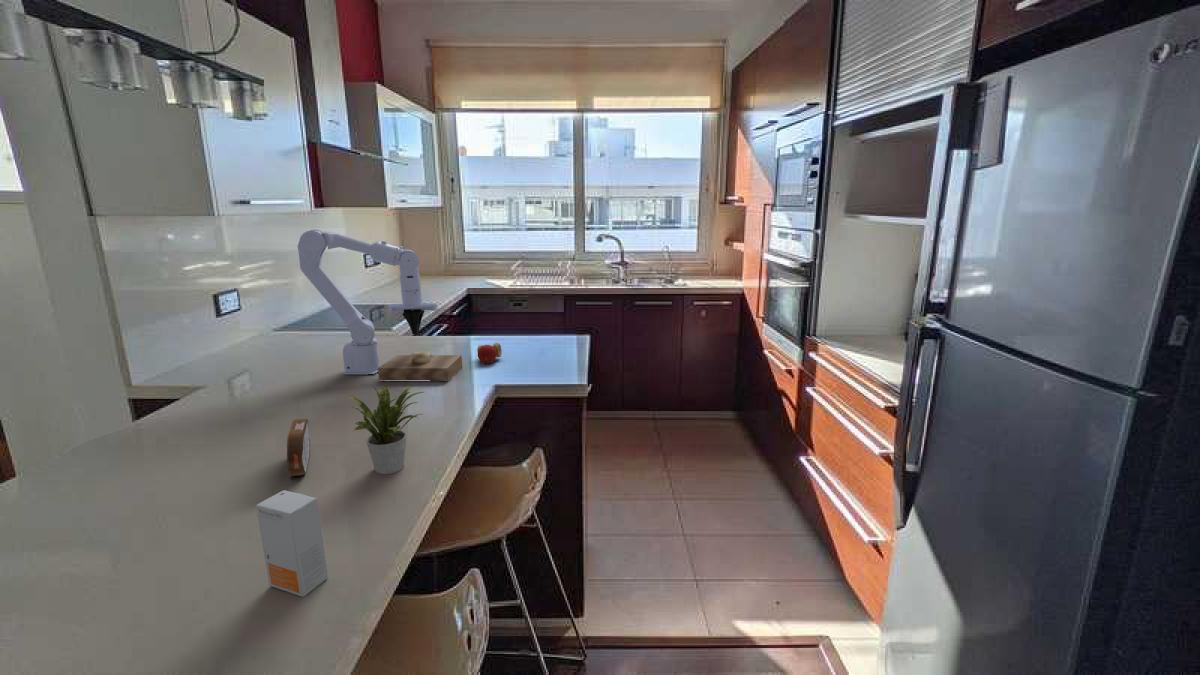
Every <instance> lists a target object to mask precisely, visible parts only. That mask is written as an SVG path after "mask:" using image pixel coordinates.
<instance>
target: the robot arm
mask: <svg viewBox="0 0 1200 675" xmlns="http://www.w3.org/2000/svg"><path fill="white" fill-rule="evenodd" d="M387 242H388V241H385V240H382V241H376V242H373V243H369V242H366V241H363V240H360V239H357V238H353V237H350V236H347V235H344V234H340V233H339V232H338V233H337V232H331V231H322V230H319V229H311V230H307V231H305V232H303V233H302V234H301V235H300V238H299V241H298V244H297V250H298V257H299V258H298V259H299V261H298V262H299V268H300V271H301V272H302V273H303V274H304V276H305V277H306V278H307V279H308V280H309V281H310V283H311V284H312V285H313V287H314V288H316V290H317V291H318V292H319V294H320V295H321V296H322V297H323V298H324V299H325V301H326V302H327V303H328V304H329V306H331V308H332V309H333V310H334V311H335V312H336V314H338V316H339V317H340V319H341V320H342V321H343V323H344V325H345V326H346V328H347V329H348V331H349V333H350V337H351V339H352V340H351V342H346V343H345V344H344V346H343V348H342V349H343V350H342V358H343V366H344V367H343V368H344V372H343V375H368V374H374V375H376V374H378V373H377V372H378V368H379V367H380V366H381V363H380V354H379V345H378V339H376V338H375V331H376V330H375V329H376V326H375V324H374V323H373V321H372V320H371V319H368V318H367V317H365V316H364V315H363V314H362V313H361V312H360V311H359V310H357V308H356V307H355V306H354V305H353V303H352V302H351V301H350V299H349V298H348V297H347V296H346V295H345V294H344V293H343V291H342V290H341V289H340V288H339V286H338V285H337V284H336V283H335V282H334V280H333V279H332V278H331V277H330V275H328V274H329V273H327V272H326V271H325V270H324V268H323V267H322V266H321V265H322V258H323V254H324V252H325V251H326V249H327V250H330V249H331V250H332V249H336V248H342V249H345V250H350V251H354V252H358V253H362V254H367V255H369V256H370V258H371V260H372V261H376V262H379V263H382V264H386V265H390V266H393V267H396V266H399V273H400V275H399V282H400V289H401V290H400V291H401V298H402V300H401V301H402V303H390V304H388V306H387V307H388V312H396V311H398V312H399V311H400V312H402V316H403V318H404V319H405V320H406V322H407V324H408V326H409V328H410V330H411V333H412V335H418V334H419V333H420V329H421V328H420V327H421V322H422V319H423V317H424V314H425V311H432V312H433V311H434V312H435V311H437V310H438V303H433V302H423V295H422V285H421V276H420V273H419V272H420V270H419V269H420V268H419V264H420V259H419V257H418V255H417V253H415V252H414V251H413V250H411V249H409V248H404V246H395V245H393V244H389V243H387ZM375 373H376V374H375Z"/></svg>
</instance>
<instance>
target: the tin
mask: <svg viewBox="0 0 1200 675" xmlns="http://www.w3.org/2000/svg"><path fill="white" fill-rule="evenodd" d="M309 422H310V421H309V419H308V418H292V421H291V425H290V428H289V430H288V434H287V439H286V440H287V441H286V442H287V443H286V465H287V473H288V476H289V477H290V478H292V477H297V476H298V477H299V476H303V475H306V473H307V471H308V467H309V463H310V456H311V440H310V434H309V426H310V423H309Z"/></svg>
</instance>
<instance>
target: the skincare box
mask: <svg viewBox="0 0 1200 675" xmlns="http://www.w3.org/2000/svg"><path fill="white" fill-rule="evenodd" d="M255 508H256V514H257V518H258V519H257V520H258V524H259V525H258V526H259V532H260V536H261V542H262V549H263V555H264V561H265V567H266V573H267V578H268V585H269V587H271V588H275V589H278V590H282V591H284V592H287V593H290V594H293V595H296V596H299V597H301V598H303V597H306V596H307V595H308V594H309V593H310V592H312V591H313V590H314V589H315V588H317V587H318V586H320V585H321V584H323V582H324V581H326V580H327V579H329V578H328V577H329V574H328V567H327V560H326V555H325V546H324V539H323V532H322V524H321V517H320V510H319V504H318V498H317V497H312V496H309V495H305V494H303V493H299V492H293V491H288V490H285V489H284V490H282V491H279V492H277V493H275V494H274V495H271V496H270V497H268V498H266V499H264V500H263V501H261V502H259V503H258V504H256V506H255Z"/></svg>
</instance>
